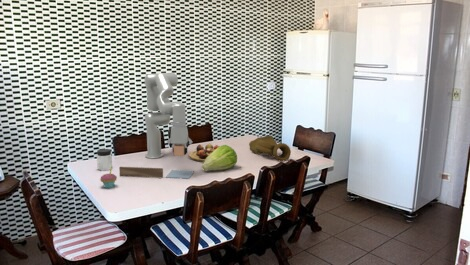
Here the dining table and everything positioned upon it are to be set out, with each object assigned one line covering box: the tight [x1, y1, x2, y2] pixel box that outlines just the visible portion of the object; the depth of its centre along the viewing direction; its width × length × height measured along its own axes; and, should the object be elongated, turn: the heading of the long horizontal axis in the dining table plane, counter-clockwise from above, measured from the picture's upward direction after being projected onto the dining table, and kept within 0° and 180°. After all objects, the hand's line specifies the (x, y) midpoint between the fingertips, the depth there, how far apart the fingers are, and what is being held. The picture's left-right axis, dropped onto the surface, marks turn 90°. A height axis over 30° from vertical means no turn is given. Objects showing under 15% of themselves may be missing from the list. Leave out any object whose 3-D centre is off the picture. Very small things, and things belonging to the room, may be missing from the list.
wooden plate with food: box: [188, 143, 220, 163], centre depth 270 cm, size 32×32×8 cm
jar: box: [96, 148, 113, 171], centre depth 238 cm, size 9×8×12 cm
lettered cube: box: [173, 144, 186, 157], centre depth 225 cm, size 6×6×6 cm
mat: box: [165, 169, 195, 180], centre depth 229 cm, size 14×14×1 cm
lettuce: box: [201, 144, 238, 171], centre depth 241 cm, size 15×24×16 cm
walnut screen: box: [119, 166, 164, 179], centre depth 224 cm, size 2×26×6 cm, turn 85°
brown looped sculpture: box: [248, 134, 292, 162], centre depth 272 cm, size 23×16×28 cm
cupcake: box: [100, 164, 118, 189], centre depth 206 cm, size 9×8×12 cm
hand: (180, 153), depth 226 cm, fingers closed on lettered cube, 6 cm apart
